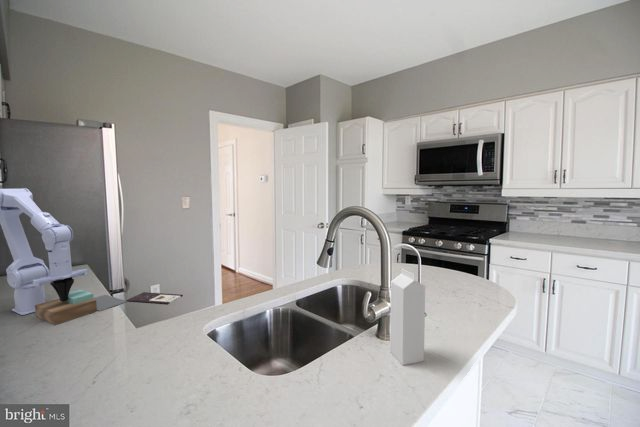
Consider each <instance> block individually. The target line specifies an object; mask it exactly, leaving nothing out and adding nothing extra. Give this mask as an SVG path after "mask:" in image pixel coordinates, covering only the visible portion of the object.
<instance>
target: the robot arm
mask: <svg viewBox="0 0 640 427" xmlns="http://www.w3.org/2000/svg"><path fill="white" fill-rule="evenodd" d="M33 199H34V196H33V193H32V192H31V191H30V189H28V188H26V187H22V188H0V226H1V230H2V232H3V235H4V238H5V240H6V243H7V246H8V249H9V251H10V255H11V256H12V260H13V261H12V263H10V265H8V266H7V268H6V269H5V271H6V280H7V283H8V286H9V287H11V288H13V289H14V290H13V291H14V292H13V298H14V300H13V301H14V308H12V309H11V311H12V312H15V313H16V314H18V315H21V316H25V315H28V314H31V313H32V314H33V313H36V312H35V305H37V304H41V303H45V302H46V296H45V295H46V294H45V284H46V285H47V284H49V285H51V286H52V288H53V289H54V290H55V292H56V294H57V296H58V297H59V298H58V299H60V301H62V302H64V301H67V300H68V295H69V292H71V288H72V286H73V284H74V283H75V279H74V278H78V277H82V276H87V275H88V269H86V268H84V269H77V270H76V269H75V270H73V267H72V258H71V245H70V244H71V243H70V242H72V241H73V239H74V232H73V229H72V227H70V225H68V224H67V225H65V224H61V223H60V222H59V221H58V220H57V219H56V218H54V217H53V215H51V213H49V212H46V211H42V210H41V209H40V207H39V206H38V205H37V204H36V202H35V201H34V200H33ZM23 213H24V214H25V215H26V216H28V217H29V218H30V223H31V225H32V226H33V227H34V228H35V229H36V230H37V231H38V232H39V233H40V234H41V239H42V242H43V244H44V247H45V250H46V251H47V255H48V256H47V257H48V265H49V266H47V265H46V264H45V262H44V260H43V259H42V258H38V257H36V256H34V254H33V252H32V248H31V246H30V243H29V241H28V238H27V236H26V233H25V229H24V227H23V224H22V222H21V220H20V215H21V214H23Z"/></svg>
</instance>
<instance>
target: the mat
mask: <svg viewBox="0 0 640 427" xmlns="http://www.w3.org/2000/svg"><path fill="white" fill-rule="evenodd" d="M94 300H96V304H97V311H96V312H102V311H105V310H106V311H107V310H108V309H111V308H115V307H118V306H120V305H123V304H126V303H129V302H128V301H126V300H124V299H121V298H118V297H114V296H112V295H107V294H101V295H99V296H96V297H94Z"/></svg>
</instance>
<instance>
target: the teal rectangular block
mask: <svg viewBox="0 0 640 427" xmlns="http://www.w3.org/2000/svg"><path fill="white" fill-rule="evenodd" d="M94 298H95V297H94V293H93V292H90V291H87V290H83V289H78V290H74V291H69V295H68V300H67V301H65V302H68V303H71V304H73V305H74V304H78V303H81V302H84V301H88V300H91V299H94Z"/></svg>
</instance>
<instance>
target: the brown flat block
mask: <svg viewBox="0 0 640 427" xmlns="http://www.w3.org/2000/svg"><path fill="white" fill-rule="evenodd" d="M96 312H98V311H97V304H96V300H94V299H91V300H88V301H84V302H81V303H78V304H74V305H73V304H71V303H68V302H65V301H64V302H62V301H60V298H57V299H53V300H50V301H45V303H41V304H37V305H35V312H34V313H35V317H36V318H38V319H40V320H43V321H45V322H47V323H50V324H52V325H53V326H57V325H59V324H60V325H61V324H63V323H66V322H69V321H71V320H75V319H78V318H81V317H84V316H86V315H87V316H88V315H90V314H93V313H96Z"/></svg>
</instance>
